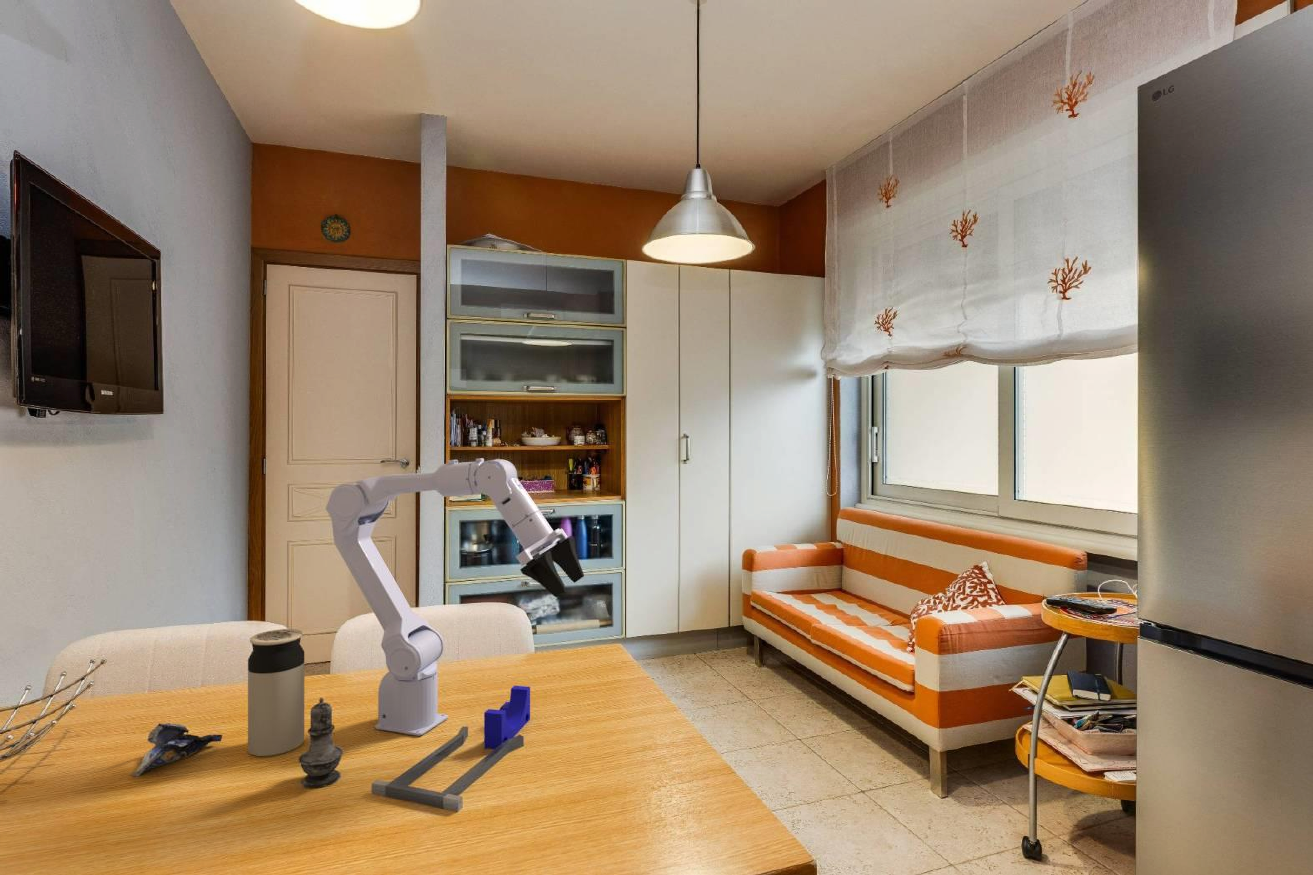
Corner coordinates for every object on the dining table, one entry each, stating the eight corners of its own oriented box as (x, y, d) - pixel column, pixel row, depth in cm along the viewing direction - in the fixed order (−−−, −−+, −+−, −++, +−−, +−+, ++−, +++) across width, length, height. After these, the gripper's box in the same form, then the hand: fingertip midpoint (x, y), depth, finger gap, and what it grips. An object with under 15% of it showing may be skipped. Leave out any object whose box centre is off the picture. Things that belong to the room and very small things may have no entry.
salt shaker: (298, 793, 95) (298, 708, 95) (298, 774, 100) (298, 694, 100) (344, 783, 97) (344, 700, 97) (342, 765, 103) (342, 687, 103)
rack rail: (371, 793, 95) (371, 783, 95) (456, 733, 114) (456, 724, 114) (458, 811, 90) (458, 800, 90) (531, 745, 109) (531, 736, 109)
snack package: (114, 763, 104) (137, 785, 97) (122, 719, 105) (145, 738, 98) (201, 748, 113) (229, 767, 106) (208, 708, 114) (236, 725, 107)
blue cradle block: (506, 718, 120) (506, 684, 120) (530, 720, 120) (530, 686, 120) (475, 748, 109) (475, 711, 109) (501, 751, 108) (501, 714, 108)
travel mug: (264, 762, 103) (264, 645, 103) (237, 749, 108) (237, 637, 108) (314, 742, 110) (314, 632, 110) (287, 731, 114) (287, 625, 114)
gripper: (522, 517, 107) (570, 588, 106) (560, 498, 120) (603, 561, 119) (491, 540, 109) (538, 610, 108) (532, 519, 122) (574, 581, 121)
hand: (570, 586), depth 114 cm, fingers open, 7 cm apart
